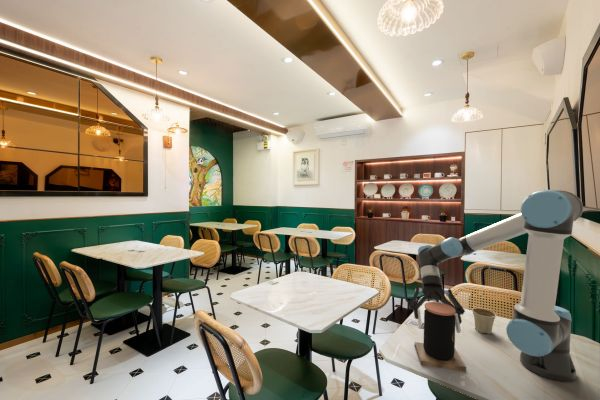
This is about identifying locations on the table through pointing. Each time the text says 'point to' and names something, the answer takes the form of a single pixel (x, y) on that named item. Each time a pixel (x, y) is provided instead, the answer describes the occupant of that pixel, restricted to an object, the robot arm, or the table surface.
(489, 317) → the flower pot
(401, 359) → the table surface
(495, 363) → the table surface
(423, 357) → the walnut board
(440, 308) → the coffee jar
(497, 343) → the table surface
